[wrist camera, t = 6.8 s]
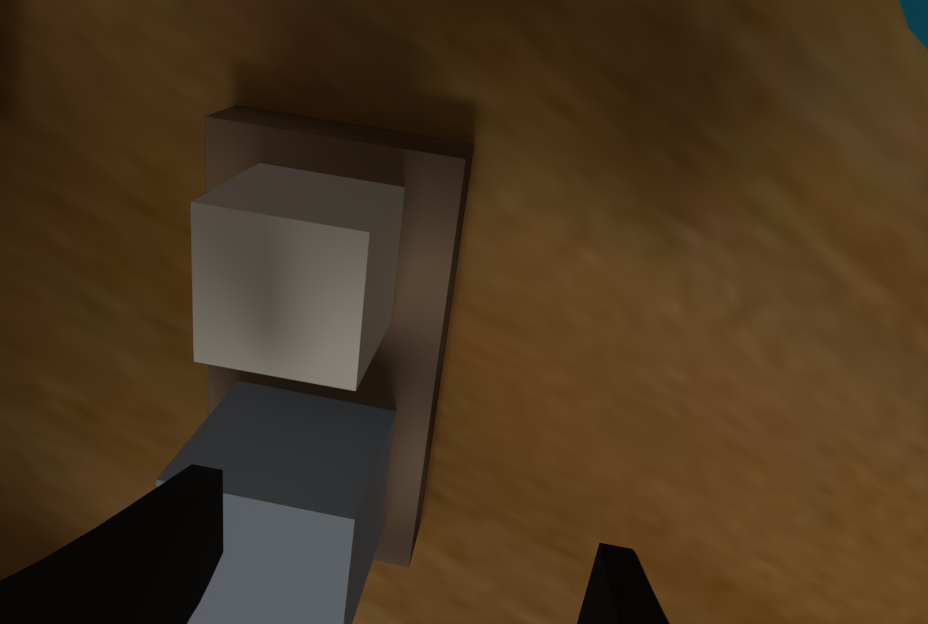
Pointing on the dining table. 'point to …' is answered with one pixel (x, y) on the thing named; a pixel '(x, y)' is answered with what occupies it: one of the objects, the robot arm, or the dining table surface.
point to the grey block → (294, 273)
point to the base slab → (416, 285)
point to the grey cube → (292, 504)
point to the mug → (917, 18)
